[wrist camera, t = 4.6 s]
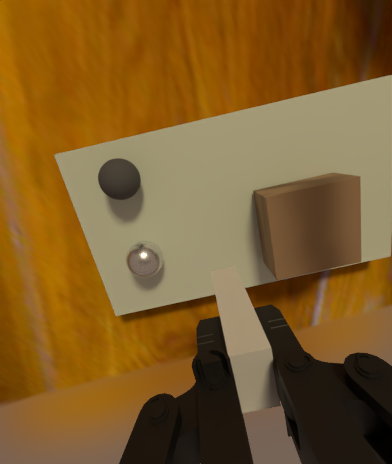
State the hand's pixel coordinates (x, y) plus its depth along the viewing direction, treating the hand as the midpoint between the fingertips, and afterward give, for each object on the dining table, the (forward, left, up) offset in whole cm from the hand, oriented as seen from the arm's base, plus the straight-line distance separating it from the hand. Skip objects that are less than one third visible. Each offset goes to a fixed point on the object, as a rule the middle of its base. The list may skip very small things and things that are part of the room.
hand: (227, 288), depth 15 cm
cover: (+8, 0, -8) cm, 11 cm away
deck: (+3, +2, -11) cm, 12 cm away
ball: (-6, 0, -7) cm, 9 cm away
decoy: (-6, +7, -7) cm, 12 cm away
